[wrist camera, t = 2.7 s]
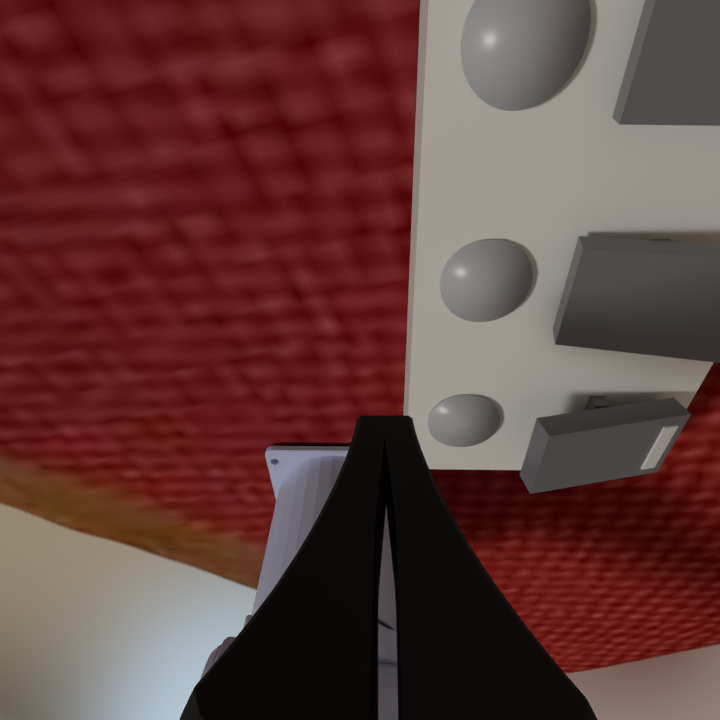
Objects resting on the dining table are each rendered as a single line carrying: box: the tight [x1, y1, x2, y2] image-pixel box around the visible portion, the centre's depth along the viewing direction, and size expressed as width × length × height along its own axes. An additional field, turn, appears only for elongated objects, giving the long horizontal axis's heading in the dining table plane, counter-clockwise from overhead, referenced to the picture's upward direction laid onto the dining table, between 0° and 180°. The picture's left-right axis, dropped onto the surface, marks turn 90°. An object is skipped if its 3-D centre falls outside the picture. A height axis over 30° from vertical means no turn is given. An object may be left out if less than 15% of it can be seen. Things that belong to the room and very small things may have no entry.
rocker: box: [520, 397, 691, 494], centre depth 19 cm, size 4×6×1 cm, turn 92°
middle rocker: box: [553, 236, 720, 363], centre depth 14 cm, size 4×6×1 cm, turn 92°
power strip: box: [404, 0, 720, 470], centre depth 17 cm, size 21×12×4 cm, turn 2°
